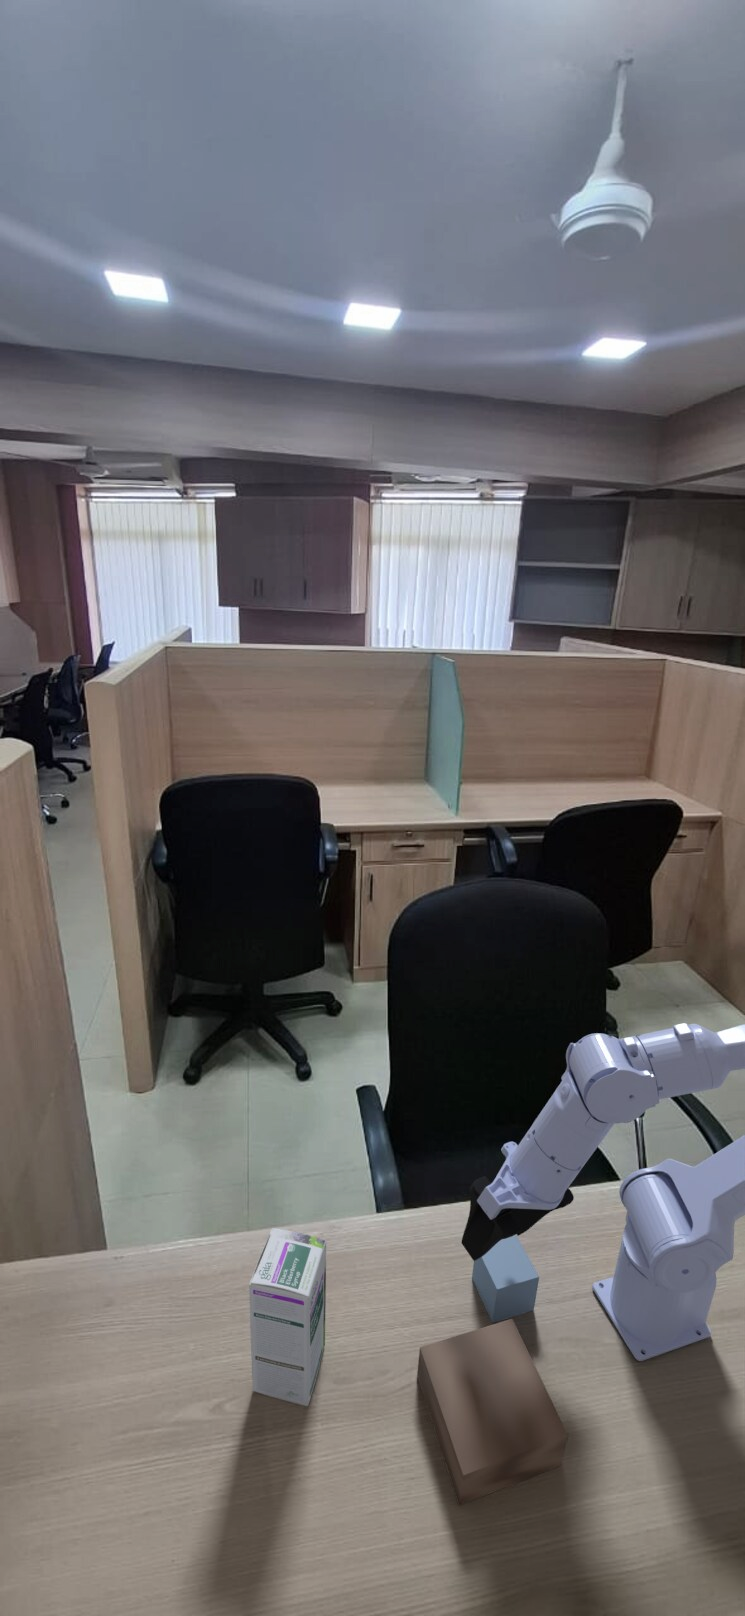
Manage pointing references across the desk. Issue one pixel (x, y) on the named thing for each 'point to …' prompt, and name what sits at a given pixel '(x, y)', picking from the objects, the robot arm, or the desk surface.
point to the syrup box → (288, 1315)
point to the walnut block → (489, 1410)
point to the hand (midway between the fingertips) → (492, 1237)
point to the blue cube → (506, 1280)
